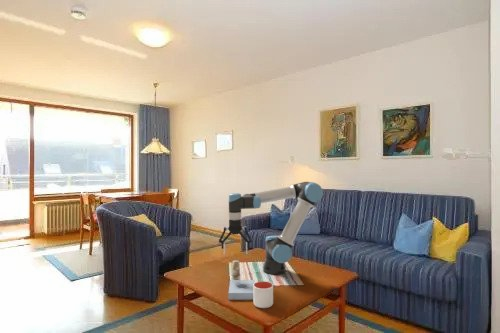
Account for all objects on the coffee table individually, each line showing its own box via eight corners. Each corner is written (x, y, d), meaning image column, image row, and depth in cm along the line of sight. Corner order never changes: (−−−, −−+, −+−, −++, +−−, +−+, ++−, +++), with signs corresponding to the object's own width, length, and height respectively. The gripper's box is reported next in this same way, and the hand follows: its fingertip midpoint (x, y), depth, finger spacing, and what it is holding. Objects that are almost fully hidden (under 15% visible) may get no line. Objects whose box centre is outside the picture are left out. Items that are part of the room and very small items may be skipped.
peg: (239, 279, 191) (239, 260, 191) (239, 282, 186) (239, 262, 186) (232, 279, 191) (232, 260, 191) (232, 282, 186) (232, 262, 186)
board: (254, 286, 181) (254, 280, 181) (255, 299, 163) (255, 292, 163) (230, 286, 181) (230, 280, 181) (228, 299, 163) (228, 293, 163)
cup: (252, 300, 161) (252, 281, 161) (271, 299, 162) (271, 280, 162) (254, 309, 151) (254, 289, 151) (274, 308, 152) (274, 288, 152)
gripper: (255, 217, 192) (255, 251, 192) (215, 218, 192) (215, 252, 192) (255, 219, 185) (256, 255, 185) (213, 220, 185) (214, 255, 185)
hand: (235, 253), depth 189 cm, fingers open, 13 cm apart
